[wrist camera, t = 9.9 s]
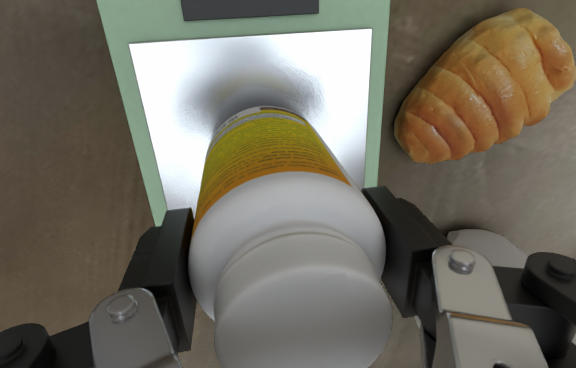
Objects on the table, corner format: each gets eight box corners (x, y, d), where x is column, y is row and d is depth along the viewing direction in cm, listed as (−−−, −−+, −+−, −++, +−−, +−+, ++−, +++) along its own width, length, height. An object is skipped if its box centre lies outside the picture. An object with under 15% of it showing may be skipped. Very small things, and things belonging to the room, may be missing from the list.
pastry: (419, 178, 23) (450, 205, 20) (367, 102, 21) (393, 118, 17) (543, 87, 22) (600, 100, 18) (505, -9, 19) (564, -15, 16)
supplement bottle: (180, 154, 16) (109, 345, 7) (276, 76, 15) (345, 173, 6) (257, 230, 18) (282, 447, 9) (344, 167, 17) (468, 337, 8)
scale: (102, -43, 16) (76, -55, 13) (375, -53, 17) (401, -66, 15) (168, 230, 23) (160, 259, 20) (361, 207, 24) (377, 231, 21)
